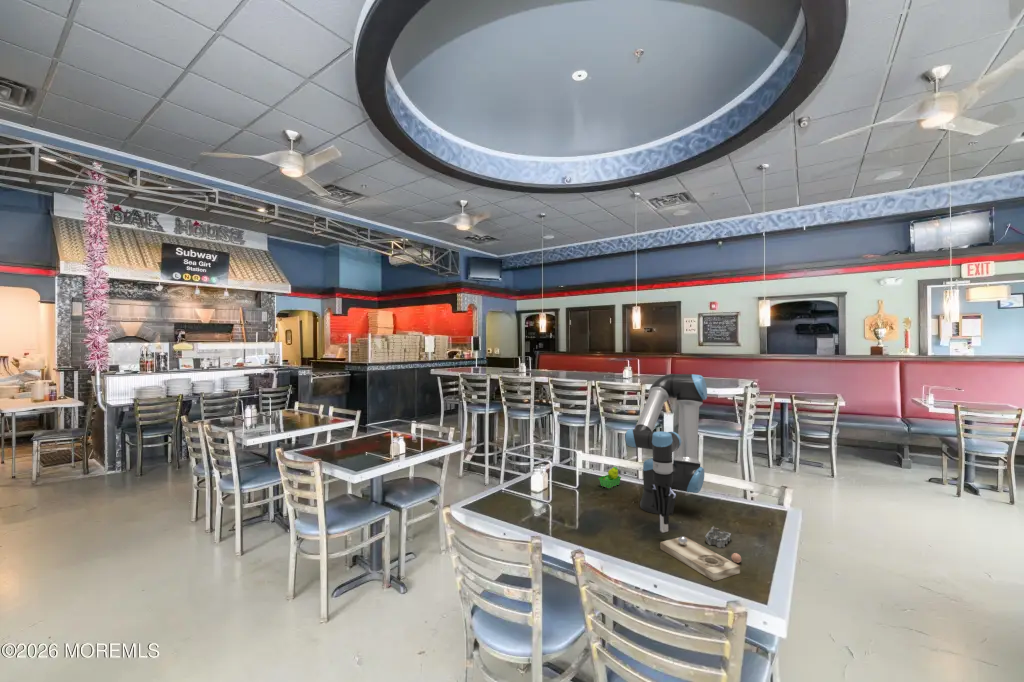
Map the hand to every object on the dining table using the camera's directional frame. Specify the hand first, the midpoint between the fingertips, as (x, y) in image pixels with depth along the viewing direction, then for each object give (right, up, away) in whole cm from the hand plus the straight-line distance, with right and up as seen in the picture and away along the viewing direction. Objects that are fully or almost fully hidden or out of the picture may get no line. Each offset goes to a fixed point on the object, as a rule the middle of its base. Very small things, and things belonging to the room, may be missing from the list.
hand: (664, 531), depth 171 cm
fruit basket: (-6, -5, +66) cm, 66 cm away
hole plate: (+7, -4, -15) cm, 17 cm away
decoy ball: (+19, -2, -18) cm, 26 cm away
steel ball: (+4, 0, -9) cm, 10 cm away
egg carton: (+21, -4, -1) cm, 21 cm away
